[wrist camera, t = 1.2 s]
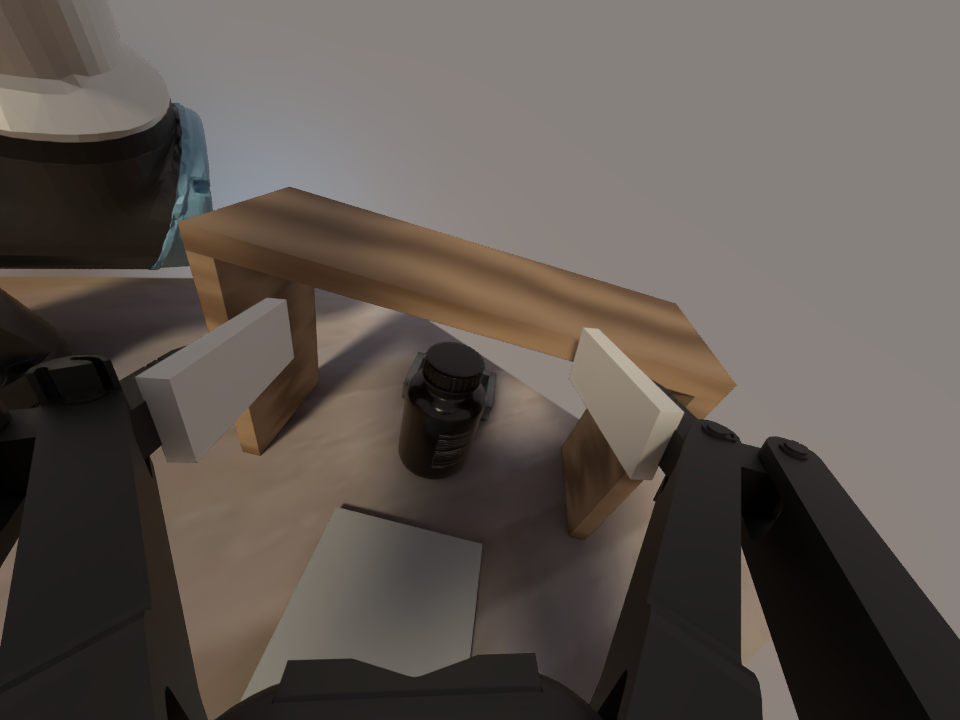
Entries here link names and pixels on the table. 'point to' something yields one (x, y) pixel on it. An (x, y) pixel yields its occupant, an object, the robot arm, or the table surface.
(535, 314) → the bridge
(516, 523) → the table surface
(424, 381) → the supplement bottle
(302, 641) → the coaster
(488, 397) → the trap tray
